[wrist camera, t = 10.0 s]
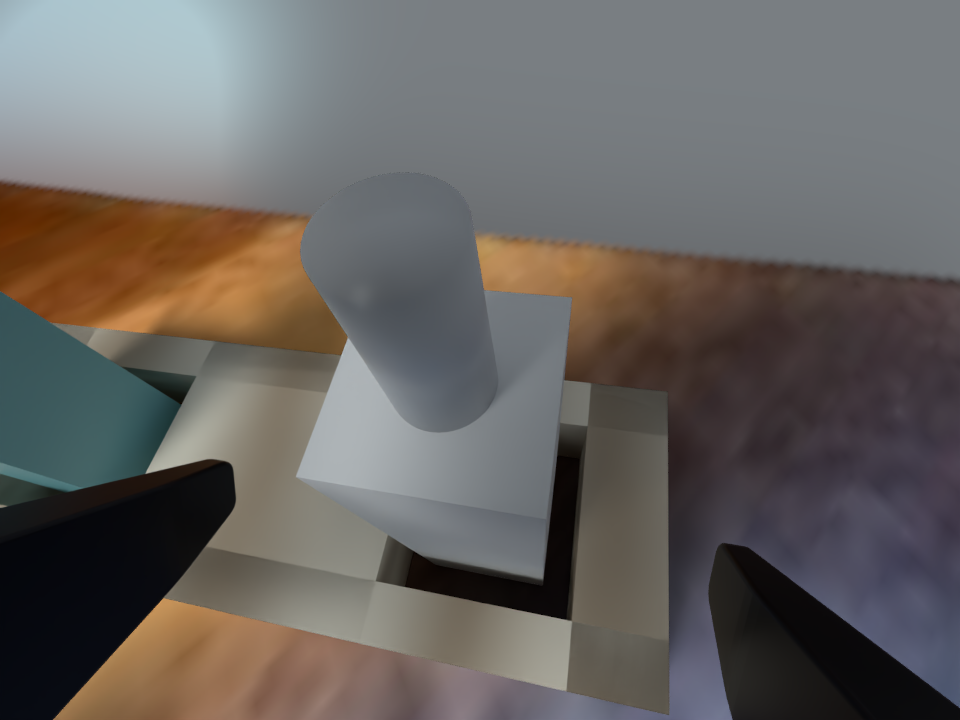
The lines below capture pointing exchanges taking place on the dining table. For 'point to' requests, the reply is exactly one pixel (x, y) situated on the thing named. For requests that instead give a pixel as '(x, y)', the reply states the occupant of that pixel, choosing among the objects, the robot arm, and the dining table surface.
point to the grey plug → (435, 381)
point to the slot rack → (385, 561)
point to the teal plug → (71, 408)
